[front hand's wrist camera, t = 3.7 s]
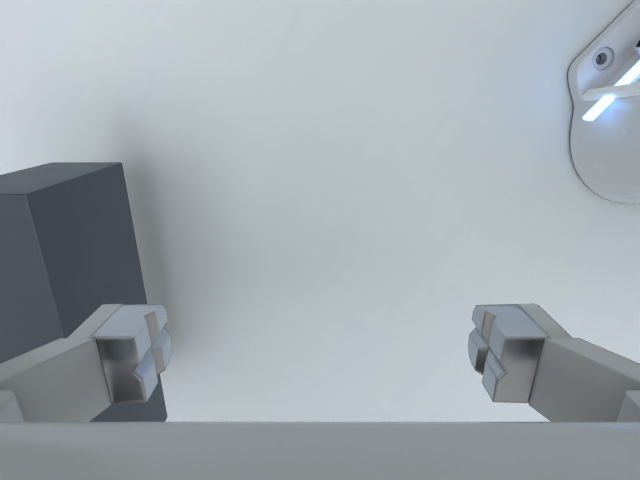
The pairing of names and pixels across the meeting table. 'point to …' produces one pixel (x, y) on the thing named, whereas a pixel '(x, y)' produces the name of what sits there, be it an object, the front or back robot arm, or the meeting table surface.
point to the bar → (67, 261)
